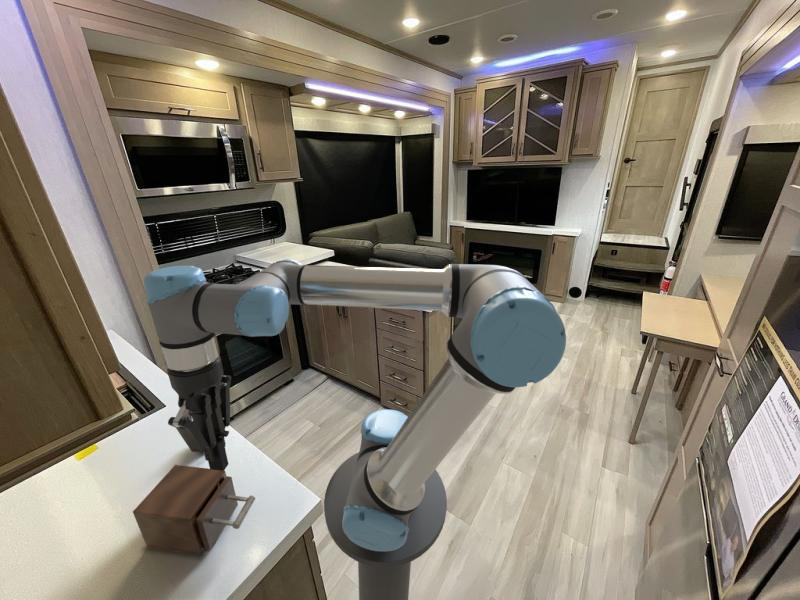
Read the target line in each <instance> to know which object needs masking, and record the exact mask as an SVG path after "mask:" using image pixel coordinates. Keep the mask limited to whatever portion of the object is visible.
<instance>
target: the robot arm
mask: <svg viewBox="0 0 800 600" xmlns="http://www.w3.org/2000/svg"><path fill="white" fill-rule="evenodd" d="M143 285H144V291H145V297H146V304H147V306H148V308H149V312H150V315H151V318H152V321H153V325H154V328H155V332H156V335H157V338H158V343H159V346H160V349H161V353H162V357H163V360H164V364H165V366H166V367H167V369H166V371H167V376H168V379H169V383H170V386H171V389H172V390H173V391H174V392H175V393H176V394H177V395H178V400H177V405H178V408H179V409H178V411H177V413H176V415H175V416H171V417H169V419H168V420H167V424H168V426H171V427H173V428H175V429H176V430H177V432H178V434H179V435H180V436H181V438H182V439H183V441H184V442H185V443H186V446H187V447H188V448H189V450H190V451H191V452H192V453H200V454H203V456H204V459H205V461H207V462H208V467H209V469H212V470H220V471H224V470H225V471H226V468H227V467H228V466H229V460H228V455H227V450H226V440H225V438H227V437H228V436H229V434H230V430H226V428H227V427H229V426H230V425H231V384H232V376H231V375H227V374H226V375H224V368H223V363H222V357H221V355H220V353H221V350H220V346H219V342H218V336H217V334H224V335H234V336H244V337H250V338H251V337H252V338H255V337H273V336H277V335H279V334H281V332H282V331H283V330H284V329H285V326H286V323H287V322H288V320H289V314H290V305H297V306H298V305H299V306H300V305H301V306H326V307H327V306H328V307H329V306H330V307H349V308H350V307H351V308H369V309H370V308H372V309H391V310H412V311H413V310H414V311H416V310H417V311H432V312H433V311H434V312H441V313H442V314H443V315H444V316H445V317H447V318H459V319H461V321H460V322H459V323H458V325H457V327H455V329H454V331H453V333H452V334H451V335H450V336H449V339H448V340H447V342H446V345H445V348H446V352H447V355H448V358H447V360H446V361H445V362H444V364H443V365H442V367H441V368H440V370H439V371H438V373H436V375H435V376H434V379H433V380H432V381H431V382H430V384H429V386H428V387H427V389H426V390H425V392H424V393H423V394H422V396H421V397H420V399H419V400H418V401H417V403H416V405H415V406H414V407H413V409H412V410H411V411H410V414H408V415H406V414H405V413H403V412H402V411H399V410H397V409H390V408H389V409H377V410H375V411H373V412H370V413H369V414H368V415H366V416H365V417H364V419H363V420H362V422H361V427H360V435H361V439H360V440H361V441H360V447H359V450H358V452H359V455H358V459H357V463H356V466H355V470H354V474H353V478H352V482H351V486H350V490H349V494H348V498H347V501H346V505H345V507H344V515H343V520H342V527H343V531H344V533H345V534H346V535H347V537H348V538H349V539H350V540H351V541H352V542H354V543H355V544H357V545H359V546H361V547H363V548H366V549H369V550H373V551H384V552H385V551H393V550H396V549H398V548H400V547H402V546H403V545H404V543H405V542H406V539H407V534H408V532H409V528H408V520H409V517H410V515H411V514H412V513H413V511H414V510H415V509H416V508H417V507H418V505H419V504H420V503H421V501H422V499H423V497H424V494H425V481H426V480H427V479H428V478H429V476H430V475H431V474H432V473H433V471H434V470H436V469H437V468H438V467H439V466H440V464H441V463H442V462H443V460H444V459H445V458H446V457H447V455H448V454H449V453H450V452H451V451H452V449H453V448H454V447H455V445H456V444H457V443H458V442H459V440H460V439H461V438H462V437H463V435H464V434H465V433H466V432H467V430H468V429H469V428H470V427H471V425H473V423H474V421H476V419H477V418H478V416H479V415H480V414H481V413H482V412H483V411H484V409H485V408H486V407H487V406H488V404H489V403H490V402H491V400H492V399H493V398H494V397H495V396H496V395H497V394H499V395H501V394H502V395H503V394H504V395H507V394H511V393H512V392H514V391H515V389H516V388H524V387H527V386H528V384H530V383H533V384H538V383H539V382H542V381H544V379H546V378H548V376H550V375H551V374H552V373H553V372H554V371H555V370H556V368H557V367H558V366H559V365H560V363H561V361H562V359H563V357H564V354H565V350H566V346H567V334H566V328H565V327H566V326H565V324H564V322H563V320H562V319H563V318H561V316H560V315H559V313H558V311H557V310H556V307H555V306H554V304H553V303H552V302H551V301H550V300H549V298H548V297H546V296H545V295H544V294H543V293H542V292H541V291H540V290H539V289H538V288H536V286H534V285H533V284H532V283H531V282H530V281H529V280H528V278H527V277H526V276H524V275H523V274H522V273H521V272H519V271H517V270H516V269H513V268H510V267H509V266H508V267H507V266H503V265H497V264H474V263H473V264H471V263H470V264H469V263H468V264H467V263H465V264H464V263H461V264H460V263H448V264H447V265H446V266H445V267H443V268H441V269H440V268H438V269H437V268H409V267H383V266H382V267H380V266H378V267H377V266H352V265H351V266H350V265H347V266H345V265H321V264H320V265H319V264H318V265H314V264H303V263H301V262H300V261H298V260H295V259H292V258H285V259H281V260H277V261H275V262H273V263H271V264H269V265H268V266H267V267H266V268H264V269H262V270H260V271H259V272H256V273H255V274H254V275H252V276H250V277H248V278H246V279H244V280H242V281H240V282H239V283H235V284H234V283H233V284H231V283H229V284H228V283H213V282H207V277H205V274H204V271H203V270H202V269H201V268H200V267H197V266H194V265H174V266H173V265H172V266H166V267H162V268H157V269H154V270H152V271H150V272H148V273H147V274H146V275H145V276H144V278H143Z"/></svg>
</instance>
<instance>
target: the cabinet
mask: <svg viewBox="0 0 800 600" xmlns="http://www.w3.org/2000/svg"><path fill="white" fill-rule="evenodd" d="M226 476H227V473H226V469H225V470H224V471H220V470H212V469H210V468H208V467H207V468H206V467H198V466H190V465H182V464H174V465H173V467H172V468H170V469H169V471H168V472H167V473H166V474H165V475H164V476H163V477H162V479H161V480H160V481H159V482H158V483H157V484H156V485H155V487H153V488H152V490H151V491H149V493H148V494H147V495H146V496H145V498H143V500H142V501H141V502H140V503H139V504H138V505H137V506H136V507H135V509H133V510H132V513H133V516H134V519H135V521H136V524H137V526H138V529H139V531H140V534H141V536H142V538H143V541H144V544H145V547H146V548H148V549H153V550H159V551H167V552H174V553H182V554H188V555H195V556H202V555H203V553H204V552H205V551H206V550H205V548H204V545H203V541H202V543H201V540H200V537H199V534H198V530H197V527H196V524H195V521H194V517H195V516H196V514H197V513H198V511H199V510H200V509H201V507H202V506H203V504H204V503H205V501H206V500H207V499H208V497H209V496H210V494H211V493H212V492H213V490H214V489H215V487H216V486H217V485H218V483H219V482H220V485H221V483H222V482H223V480H224V479H225V478H226Z"/></svg>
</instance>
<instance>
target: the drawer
mask: <svg viewBox="0 0 800 600" xmlns="http://www.w3.org/2000/svg"><path fill="white" fill-rule="evenodd" d="M255 500H256V498H255V496H254V495H249V496H248V497H247V496H240V495H236V491H235V487H234V482H233V477H232V476H228V475H226V478H225V479H224V480H223V482H222V483H221V485H220V482H219V483H218V485H217V486H216V487H215V489H214V490H213V492H212V493H211V494H210V496H209V497H208V499H207V500H206V501H205V503H204V504H203V506H202V507H201V509H200V510H199V511H198V513H197V514H196V516H195V517H194V521H195V524H196V527H197V530H198V534H199V537H200V540H201V543H202V541H203V545H204V548H205V550H204V551H212V549H213V547H214V546H215V544H216V542H217V540H218V539H219V537H220V535H221V534H222V532H223V531H224V529H225V527H226V526H231V527H232V528H233V529H235V530H239V529H240V527H241V525H242V523H243V522H244V520H245V518H246V516H247V515H248V513H249V511H250V509H251V508H252V506H253V504H254V502H255ZM238 502H244V505H243V506H242V508H241V509H240V511H239V513H238V514H237V517H236V518H235V520H230V519H231V517H232V516H233V514H234V512H235V511H236V509H237V507H238V505H239V504H238Z"/></svg>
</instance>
